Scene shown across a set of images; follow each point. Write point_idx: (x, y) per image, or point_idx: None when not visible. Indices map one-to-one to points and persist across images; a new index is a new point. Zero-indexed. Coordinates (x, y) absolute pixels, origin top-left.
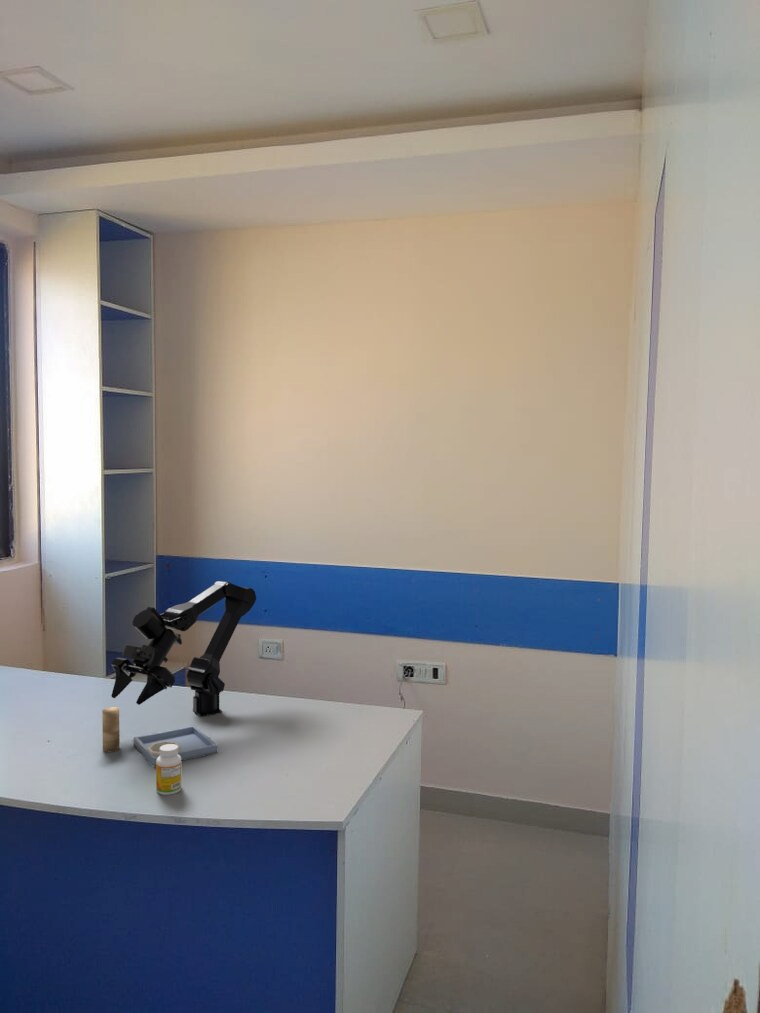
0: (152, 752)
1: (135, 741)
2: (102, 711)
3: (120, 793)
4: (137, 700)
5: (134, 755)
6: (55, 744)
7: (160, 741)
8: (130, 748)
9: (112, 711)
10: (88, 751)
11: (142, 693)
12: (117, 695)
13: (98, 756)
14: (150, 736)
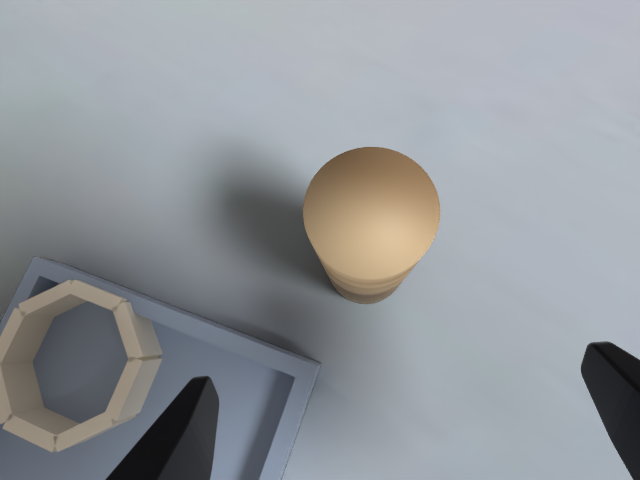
0: (64, 282)
1: (291, 355)
2: (392, 150)
3: (8, 67)
4: (193, 391)
5: (217, 286)
6: (612, 137)
7: (228, 467)
8: (299, 326)
9: (323, 195)
10: None
11: (131, 470)
12: (602, 418)
13: None
14: (271, 445)
